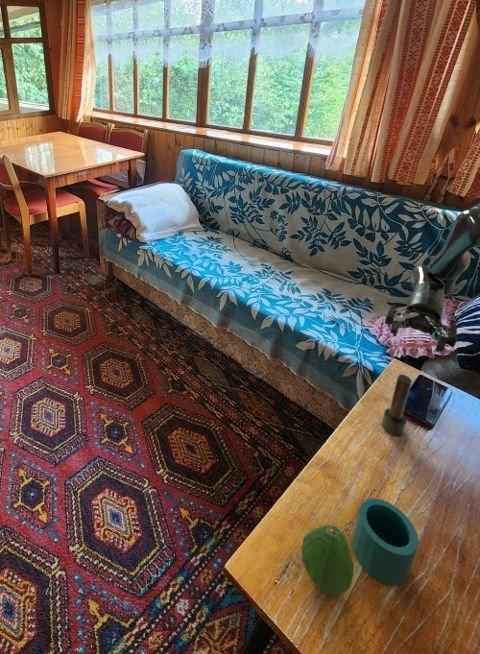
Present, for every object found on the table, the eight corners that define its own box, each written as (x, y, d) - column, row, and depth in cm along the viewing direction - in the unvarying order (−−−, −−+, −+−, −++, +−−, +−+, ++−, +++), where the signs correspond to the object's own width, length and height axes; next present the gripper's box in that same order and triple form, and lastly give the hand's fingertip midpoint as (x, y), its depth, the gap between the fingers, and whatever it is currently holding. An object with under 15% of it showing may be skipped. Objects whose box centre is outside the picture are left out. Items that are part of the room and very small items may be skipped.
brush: (398, 421, 93) (410, 372, 87) (407, 437, 89) (420, 387, 83) (378, 419, 94) (389, 370, 88) (386, 435, 90) (398, 385, 84)
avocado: (353, 572, 66) (363, 531, 62) (343, 620, 61) (353, 578, 57) (306, 539, 72) (312, 498, 67) (293, 580, 66) (299, 539, 62)
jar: (394, 532, 71) (403, 502, 68) (418, 591, 64) (429, 560, 61) (345, 524, 73) (352, 494, 70) (363, 579, 65) (371, 549, 62)
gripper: (396, 287, 105) (384, 317, 94) (462, 306, 95) (457, 342, 85) (391, 308, 108) (379, 340, 97) (455, 329, 98) (449, 366, 87)
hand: (415, 341), depth 91 cm, fingers open, 8 cm apart
